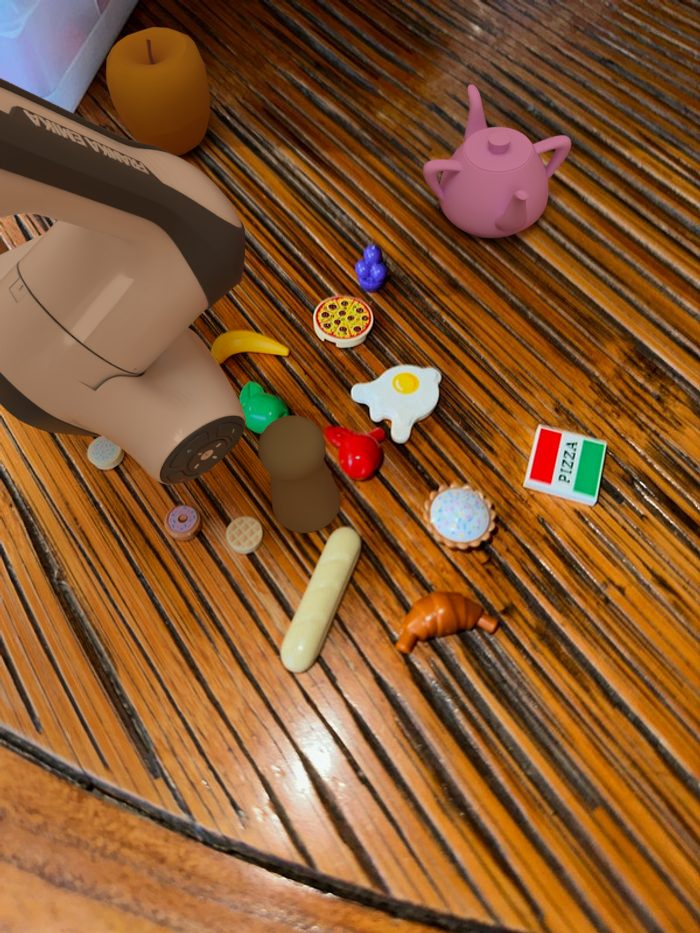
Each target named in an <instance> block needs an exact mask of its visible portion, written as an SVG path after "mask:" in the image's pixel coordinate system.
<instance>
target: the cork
mask: <svg viewBox="0 0 700 933" xmlns="http://www.w3.org/2000/svg"><path fill="white" fill-rule="evenodd" d="M257 445H258V446H257V447H258V448H257V450H258V451H257V454H258V457H259V460H260V463H261V465H262V467H263V468H264V470H265V471H266V472H267V473H268V475H269V478H270V479H269V480H270V492H271V495H270V496H271V509H272V511H273V514H274V517H275V519H276V520H277V521H278V522H279V524H280V525H281V526H282V527H284V528H285V529H287V530H289V531H290V532H295V533H298V534H308V533H309V534H310V533H315V532H318V531H320V530H323V529H324V528H326V527H327V526H328V525H330V524H331V523H332V522H333V521H334V520H335V518H336V516H337V515H338V513H339V511H340V507H341V493H340V490H339V488H338V486H337V483H336V481H335V478H334V477H333V476H332V473H331V471H330V470H329V468H328V465H327V463H326V460H325V456H326V453H327V450H326V448H327V446H326V439H325V436H324V434H323V432H322V430H321V429H320V427H318V425H316V423H315V422H314V421H312V420H310V419H308V418H307V417H303V416H299V415H294V414H293V415H283V416H281V417H278V418H276V419H274V420H273V421H271V422H270V423H269V424H267V426H266V427H265V428H264V429H263V430H262V432H261V433H260V437H259V440H258V444H257Z"/></svg>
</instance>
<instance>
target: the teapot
mask: <svg viewBox="0 0 700 933" xmlns="http://www.w3.org/2000/svg"><path fill="white" fill-rule="evenodd" d="M467 97H468V101H469V102H468V103H469V109H468V116H467V122H466V125H465V130H464V137H463V142H462V144H461V145H460V146H459V147H458V148H457V149H455V151H454V153H453V154H452V156H451V157H450V158H449V159H445V158H444V159H442V158H441V159H439V158H437V159H431V160H429V161H427V162H425V163H424V165H423V168H422V174H423V179H424V181H425V182H426V184H427V186H428V187H429V189H430V190H431V192H433V194H434V195H435V196H436V197H437V199H438V202H439V206H440V208H441V210H442V212H443V214H444V216H445V217H446V218H447V219H448V220H449V221H450V222H451V224H453V225H454V226H456V227H457V228H458V229H459V230H461V231H463V232H465V233H467V234H469V235H472V236H474V237H477V238H485V239H499V238H505V237H510V236H513V235H515V234H518V233H520V232H522V231H524V230H526V229H528V228H529V227H530V226H532V225H533V224H535V223H536V222H537V221H538V220H539V219H540V218H541V216H542V215H543V213H544V212H545V210H546V207H547V204H548V200H549V199H548V198H549V180H550V178H552V176H553V175H554V174H555V172H557V170H558V169H559V168H560V166H561V165H562V164H563V162H564V161H565V160H566V158H567V157H568V155H569V153H570V150H571V147H572V141H571V138H570V137H569V136H567V135H564V134H562V135H561V134H559V135H556V136H551V137H548V138H546V139H545V138H544V139H542V140H540V141H537V142H535V143H533V142H531V140H530V139H529V138H528V137H527V136H526V135H525V134H524V133H522V132H521V131H519V130H516V129H513V128H510V127H505V126H491V127H488V125H487V121H486V117H485V112H484V109H483V108H484V107H483V102H482V97H481V94H480V90H479V89H478V88H477V86H475V85H474V84H469V85H468V87H467ZM552 150H554V152H553V154H552V156H551V158H550V159H549V161H548V163H547V164H546V165H545V164H544V162H543V159H542V157H541V155H542V154H544V153H546V152H548V151H552ZM540 154H541V155H540ZM441 172H442V175H441V178H440V181H439V179H438V173H441Z"/></svg>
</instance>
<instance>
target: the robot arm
mask: <svg viewBox="0 0 700 933" xmlns="http://www.w3.org/2000/svg"><path fill="white" fill-rule="evenodd" d="M24 214H25V215H26V214H27V215H28V214H30V215H38V216H42V217H45V218H49V219H51V220H55V222H54V223H53V224H52V225H51V226H50V227H49V228H48V230H47V231H46V232H44V233H42V234H40V235H38V236H36V237H33V238H32V239H30V240H28V241H25V242H24V243H21V244H19V245H17V246H16V247H13V248H11V249H9V248H8V246H7V245H6V243H5V241H4V240H3V238H2V237H1V236H0V406H1V407H2V408H4V410H5V411H6V412H8V413H9V414H10V415H12V416H13V417H14V418H15V419H17V420H18V421H20V422H22V423H24V424H26V425H28V426H30V427H32V428H34V429H36V430H40V431H43V432H46V433H52V434H59V435H60V434H61V435H69V436H81V437H95V438H96V437H98V438H100V437H103V438H105V439H106V440H108V441H110V442H111V443H113V444H114V445H116V446H117V447H119V448H120V449H122V450H123V451H124V452H125V453H126V454H128V455H129V456H130V458H132V459H133V460H134V461H135V462H136V463H137V464H138V465H139V466H140V467H141V468H142V469H143V470H144V472H146V474H148V475H149V476H150V477H151V478H152V479H153V480H155V481H156V482H158V483H160V484H164V485H168V486H174V485H180V484H183V483H188V482H191V481H193V480H196V479H197V478H199V477H200V476H203V475H204V474H207V473H208V472H210V471H211V470H212V469H213V468H214V467H215V466H217V465H218V464H219V463H220V462H221V461H223V459H225V457H226V456H227V455H229V454H230V452H232V451H233V449H234V448H235V447H236V446H237V445H238V444H239V442H240V440H241V438H242V436H243V435H244V432H245V430H246V425H247V420H246V414H245V410H244V409H243V406H242V404H241V402H240V399H239V397H238V395H237V394H236V391H235V390H234V387H233V386H232V384H231V382H230V380H229V379H228V377H227V375H226V373H225V372H224V370H223V368H222V367H221V365H220V363H219V362H218V360H217V359H216V357H215V356H214V354H213V353H212V352H211V350H210V349H209V348H208V346H207V345H206V344H205V341H203V340H202V338H201V337H200V335H198V333H196V332H195V331H194V330H193V329H191V328H190V326H191V325H192V324H193V323H194V322H195V321H196V320H197V319H198V318H199V317H200V316H201V315H202V314H203V313H204V312H205V311H206V310H210V309H211V308H212V307H213V306H215V305H216V304H217V303H218V302H219V301H221V299H223V298H224V297H225V296H226V295H227V294H229V292H231V291H232V290H233V289H234V288H235V287H237V286H238V285H239V284H240V283H241V282H242V281H243V276H244V269H245V260H246V228H245V224H244V223H243V221H242V220H241V218H240V217H239V215H238V212H237V211H236V209H235V208H234V206H233V204H232V203H231V201H230V200H229V198H228V197H227V196H226V194H225V193H224V192H223V191H222V190H221V189H220V187H219V186H218V185H217V184H216V183H214V181H213V180H212V179H210V178H209V176H208V175H206V174H205V173H204V172H203V171H201V169H199V168H198V167H196V166H195V165H193V164H192V163H190V162H188V161H186V160H185V159H183V158H182V157H179V156H175V155H172V154H170V153H169V152H167V151H165V150H164V149H162V148H159V147H157V146H154V145H149V144H145V143H140V142H139V141H137V140H136V141H135V140H133V139H129V138H127V137H124V136H122V135H120V134H117V133H115V132H113V131H111V130H109V129H106V128H105V127H102V126H100V125H98V124H97V123H94V122H92V121H90V120H88V119H87V118H84V117H82V116H81V115H78V114H76V113H74V112H72V111H69V110H67V109H66V108H64V107H61V106H59V105H57V104H55V103H53V102H51V101H49V100H47V99H45V98H43V97H41V96H39V95H37V94H35V93H33V92H31V91H28V90H26V89H24V88H23V87H20V86H19V85H17V84H14V83H12V82H10V81H7V80H5V79H3V78H1V77H0V219H4V218H7V217H11V216H17V215H24Z"/></svg>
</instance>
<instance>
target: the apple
mask: <svg viewBox="0 0 700 933" xmlns="http://www.w3.org/2000/svg"><path fill="white" fill-rule="evenodd" d="M105 68H106V69H105V77H106V78H105V79H106V86H107V89H108V91H109V95H110V98H111V102H112V105H113V107H114V109H115V111H116V112H117V115H118V116H119V118H120V120H121V121H122V123H123V124H124V125H125V127H126V128H127V130H129V132H130V133H131V135H132V136H133V137H134V138H135V139H136V141H137V142H140V143H145V144H149V145H154V146H157V147H159V148H162V149H164V150H165V151H167V152H169V153H170V154H172V155H175V156H177V157H179V156H183V155H185V154H187V153H189V152H190V151H192V150H194V149H195V148H196V147H197V146H199V145H200V144H201V143H202V141H203V140H204V137H205V136H206V134H207V130H208V125H209V120H210V115H211V96H210V84H209V78H208V75H207V74H208V73H207V68H206V65H205V63H204V61H203V58H202V55H201V54H200V51H199V49H198V47H197V45H196V43H195V41H194V40H193V39H192V38H191V37H190V36H189V35H188V34H186V33H183V32H180V31H178V30H175V29H171V28H169V27H158V26H153V27H149V28H145V29H142V30H139V31H136V32H133V33H131V34H127V35H126V36H124V37H123V38H121V39H120V40H119V41H117V42H116V43H115V44H114V45H113V46H112V48H111V50H110V51H109V53H108V55H107V57H106V67H105Z"/></svg>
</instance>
